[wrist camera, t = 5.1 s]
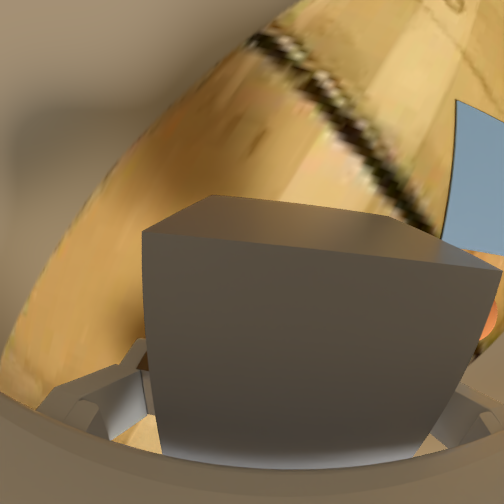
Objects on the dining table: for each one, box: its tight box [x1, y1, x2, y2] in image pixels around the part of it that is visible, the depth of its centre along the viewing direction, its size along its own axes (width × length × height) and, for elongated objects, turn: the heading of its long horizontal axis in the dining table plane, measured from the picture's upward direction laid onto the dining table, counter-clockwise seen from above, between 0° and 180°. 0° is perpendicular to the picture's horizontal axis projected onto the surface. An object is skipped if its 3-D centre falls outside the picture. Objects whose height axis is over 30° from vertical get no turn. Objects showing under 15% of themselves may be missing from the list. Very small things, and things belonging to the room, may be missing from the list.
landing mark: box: [441, 101, 504, 256], centre depth 20 cm, size 13×10×1 cm
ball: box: [479, 300, 497, 340], centre depth 21 cm, size 5×5×5 cm
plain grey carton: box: [142, 195, 503, 469], centre depth 9 cm, size 10×7×7 cm
